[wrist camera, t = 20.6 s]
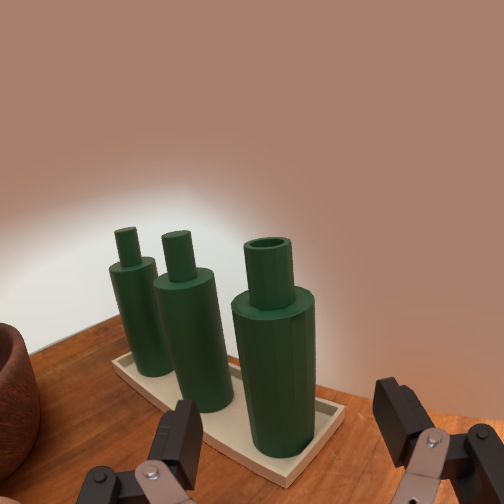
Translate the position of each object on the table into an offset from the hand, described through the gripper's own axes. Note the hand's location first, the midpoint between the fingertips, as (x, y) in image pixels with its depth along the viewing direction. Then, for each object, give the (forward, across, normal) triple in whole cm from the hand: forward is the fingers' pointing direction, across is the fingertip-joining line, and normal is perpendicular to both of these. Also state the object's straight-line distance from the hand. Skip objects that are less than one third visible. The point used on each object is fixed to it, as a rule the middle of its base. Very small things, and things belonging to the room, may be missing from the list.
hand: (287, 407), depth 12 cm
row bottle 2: (+16, +8, +13) cm, 22 cm away
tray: (+16, +8, +13) cm, 22 cm away
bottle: (+9, 0, +13) cm, 16 cm away
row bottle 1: (+22, +15, +13) cm, 30 cm away
